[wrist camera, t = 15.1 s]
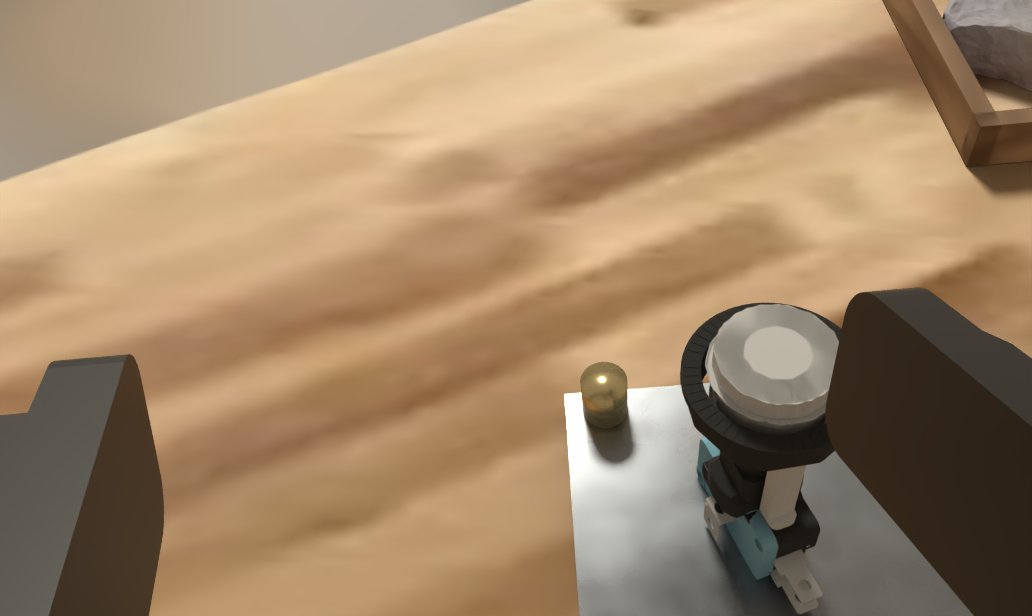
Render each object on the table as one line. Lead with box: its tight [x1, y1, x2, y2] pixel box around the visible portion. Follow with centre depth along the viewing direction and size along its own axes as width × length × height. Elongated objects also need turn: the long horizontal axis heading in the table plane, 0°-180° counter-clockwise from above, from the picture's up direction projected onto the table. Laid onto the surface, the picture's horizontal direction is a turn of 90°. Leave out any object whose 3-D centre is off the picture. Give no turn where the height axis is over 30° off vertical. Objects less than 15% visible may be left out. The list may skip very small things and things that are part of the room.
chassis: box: [564, 362, 973, 616], centre depth 33 cm, size 13×13×3 cm
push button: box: [680, 303, 842, 614], centre depth 29 cm, size 7×5×10 cm
